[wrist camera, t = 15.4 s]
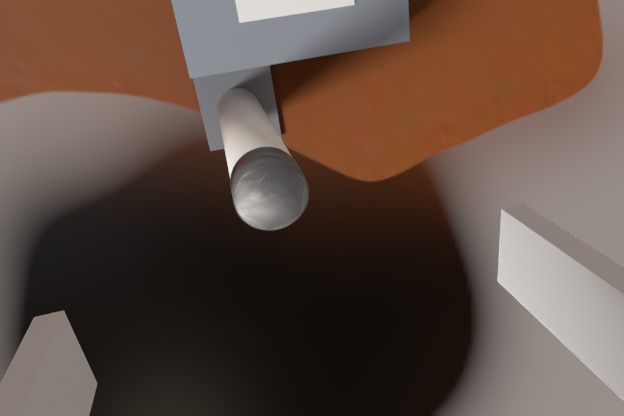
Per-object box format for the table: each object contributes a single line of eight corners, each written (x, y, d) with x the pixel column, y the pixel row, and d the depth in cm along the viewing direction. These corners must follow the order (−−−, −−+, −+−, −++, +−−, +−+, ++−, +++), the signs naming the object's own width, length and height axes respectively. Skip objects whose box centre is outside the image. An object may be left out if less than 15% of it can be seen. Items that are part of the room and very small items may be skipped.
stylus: (222, 134, 38) (241, 237, 22) (212, 91, 36) (225, 168, 20) (264, 126, 38) (313, 221, 22) (256, 83, 37) (303, 152, 21)
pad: (210, 149, 38) (210, 151, 38) (192, 76, 36) (192, 77, 35) (280, 135, 39) (281, 137, 39) (268, 63, 37) (269, 63, 36)
